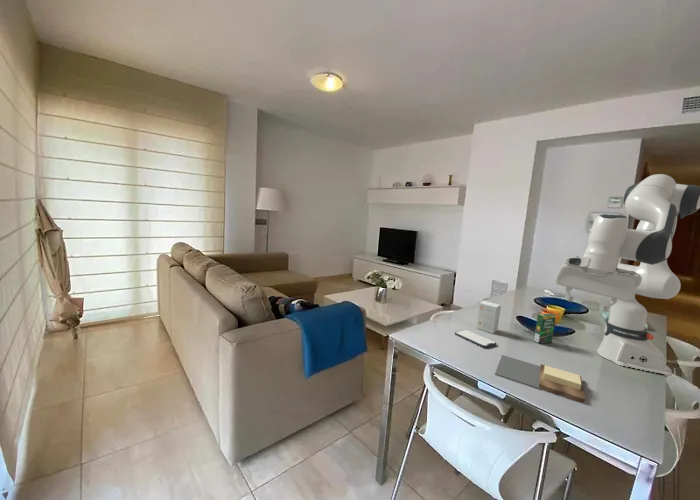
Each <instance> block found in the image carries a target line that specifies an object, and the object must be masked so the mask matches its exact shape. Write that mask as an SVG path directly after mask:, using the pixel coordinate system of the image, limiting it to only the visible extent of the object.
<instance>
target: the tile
mask: <svg viewBox="0 0 700 500" xmlns="http://www.w3.org/2000/svg"><path fill="white" fill-rule="evenodd" d="M544 365H545V364H544ZM580 376H581V375H579V374H576V373H574V372H573V373H572V372H570V371H566V370H564V369H563V370H562V369H559V368H555V367H551V366H548V365H545V367H544V376H543V379H546V380H549V381H552V382H555V383H558V384H561V385H565V386H568V387H571V388H574V389H577V390H580V389H581V380H580Z"/></svg>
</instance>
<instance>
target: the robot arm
mask: <svg viewBox="0 0 700 500" xmlns="http://www.w3.org/2000/svg"><path fill="white" fill-rule="evenodd" d="M622 199H623V200H622V201H623V205H624V208H625V210H626V213H628V214H629V216H630V217H632V218H634V219H636V220H637V221H638V220H639V222H638V224H637V227H636V229H630V228H628V226H629V218H628V216H626V215H622V214H621V215H620V214H609V213H608V214H607V213H603V214H599V215H597V216H596V218H595V219H594V222H593V225H592V227H591V229H590V231H589V235H588V240H587V242H588V244H587V247H586V249H585V250H584V253H583V256H578V255H577V256H571V257H570V256H568V257H566V258H564V264H562V265H561V266H560V267H559V269H558V271H557V273H556V276H555V279H554V282H555V283H556V285H558V286H563V287H565V291H566V294H567V298H566V301H567V302H570V303H573V302H574V300H575V296H573V295H572V293H571V292H572V291H573V289H575V290H579V291H583V292H587V293H591V294H595V295H598V296H599V295H600V296H603V297H607V298H609V303H610V304H608V305H606V304H604V306H603V308H604V309H603V311H606V312H609V311H610V314H609V320H608V321H606V323H605V326H604V331H603V333H604V336H603V338H602V341H601V343H600V345H599V347H598V349H597V350H596V353H597V354H598V355H599V356H601V357H603V358H605V359H606V360H608V361H611V362H613V363H615V364H616V365H618V366H620V365H621V366H620V367H623V366H625V367H624V368H628V367H631V368H630V369H632V368H635V369H634V370H637V369H640V370H639V371H642V370H644V371H643V372H646V371H650V372H649V373H651V372H657V373H662V374H665V375H664V376H666V377H671V376H672V374H673V373H672V372H673V371H672V369H671V368H670V367H669V366H668V365H667V364H666V359H665V356H664V353H663V352H662V351H661V350H660V349H659V348H658V347H657V346H656V345H654V344H653V343H652V342H651V341H652V340H654V339H655V337H654V335H653V334H652V333H650V332H648V331H647V330H644V327H645V322H646V323H647V319H648V318H647V317H648V310H647V309H646V308H645V307H644V306H643V304H640V303H639V302H638V300H637V298H636V295H639V296H643V297H646V298H647V297H648V298H651V299H661V300H662V299H663V300H669V299H672V298H674V297H675V296H677V295H678V293H679V292H680V290H681V286H682V285H681V281H680V279H679V278H678V276H677V275H676V274H675V273H674V272H672V270H671V268H670V266H669V265H668V258H669V257H670V255H671V253H672V248H673V238H674V235H675V232H676V228H677V223H678V216H679V219H684V218H685V217H686V216H689V215H692V214H694V213H696V212H697V211H699V209H700V185H695V184H681V183H677V182H676V181H675V179H674V178H673V177H672V176H670V175H668V174H664V173H657V174H652V175H649V176H647V177H646V178H644V179H642V181H640V182H638V183H635V184H631V185H630V186H629V187H627V189H626V190H625V191H624V194H623V198H622ZM620 259H624V260H629V261H633V262H634V261H635V262H639V263H640V264H639V265H638V266H637V265H631V264H626V263H625V264H624V263H621V262H620Z"/></svg>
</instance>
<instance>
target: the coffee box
mask: <svg viewBox="0 0 700 500" xmlns="http://www.w3.org/2000/svg"><path fill="white" fill-rule="evenodd" d="M556 317H557V315H556V314H554V313H552V312H551V313H540V314H539V313H538V314H537V317H536V324H535V331H534V337H533V342H535V343H536V344H537V345H538V344H539V345H540V344H551V343H552V342H553V335H554V330H555V324H556V319H557V318H556Z"/></svg>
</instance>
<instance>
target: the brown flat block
mask: <svg viewBox="0 0 700 500" xmlns="http://www.w3.org/2000/svg"><path fill="white" fill-rule="evenodd" d="M540 366H541V367H540V379H539V388H542V390H541V391H545V392H548V393H551V394H553V395H554V394H555V395H557V396H559V397H563V398H566V399H569V400H572V401H575V402H578V403H580V404H585V403H586V396H585V389H584V385H583V379H582V375H580V380H581V389H580V390H577V389H574V388H571V387H568V386H565V385H561V384H558V383H555V382H552V381H549V380H546V379H543V376H544V367H545V364H540Z"/></svg>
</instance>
